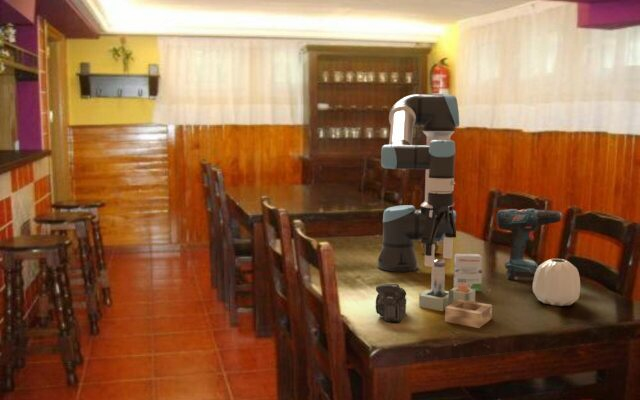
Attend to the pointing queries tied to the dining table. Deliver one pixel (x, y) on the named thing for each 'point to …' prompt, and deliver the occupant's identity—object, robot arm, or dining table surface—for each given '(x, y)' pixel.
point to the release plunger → (463, 288)
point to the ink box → (468, 270)
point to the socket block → (444, 298)
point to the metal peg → (438, 278)
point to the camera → (391, 302)
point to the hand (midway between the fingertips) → (438, 262)
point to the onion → (434, 244)
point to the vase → (557, 282)
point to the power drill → (523, 237)
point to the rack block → (468, 313)
